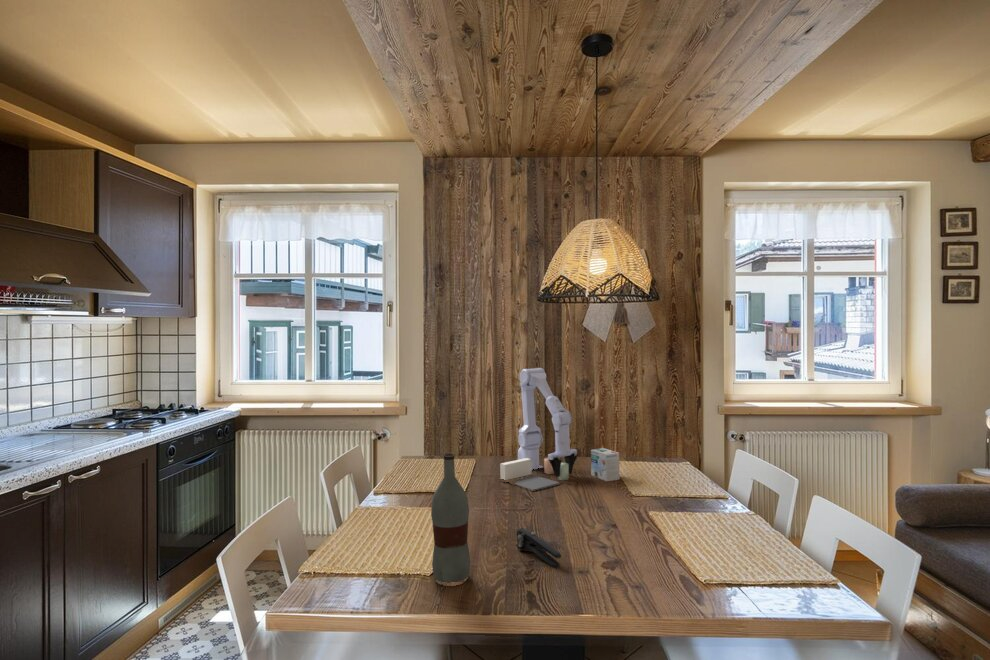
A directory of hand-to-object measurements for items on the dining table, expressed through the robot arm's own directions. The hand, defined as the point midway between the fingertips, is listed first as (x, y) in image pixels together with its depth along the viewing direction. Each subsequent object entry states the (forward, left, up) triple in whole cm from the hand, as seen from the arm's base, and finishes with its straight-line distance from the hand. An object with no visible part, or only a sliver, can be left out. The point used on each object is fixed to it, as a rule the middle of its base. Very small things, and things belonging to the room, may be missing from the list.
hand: (563, 474), depth 210 cm
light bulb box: (+10, +14, -2) cm, 17 cm away
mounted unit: (-13, -14, -2) cm, 19 cm away
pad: (-2, -14, -2) cm, 14 cm away
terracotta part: (-10, +2, -2) cm, 10 cm away
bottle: (+44, -82, -2) cm, 93 cm away
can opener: (+48, -57, -2) cm, 74 cm away
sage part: (0, 0, -2) cm, 2 cm away
